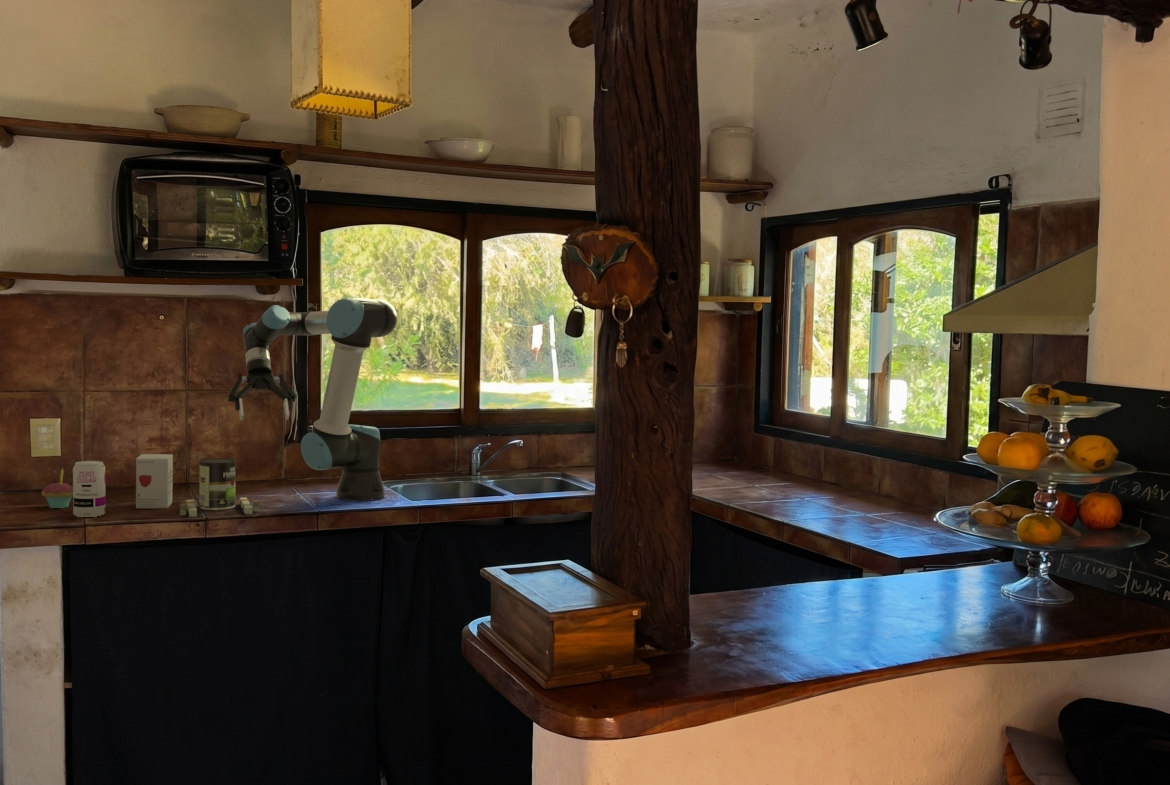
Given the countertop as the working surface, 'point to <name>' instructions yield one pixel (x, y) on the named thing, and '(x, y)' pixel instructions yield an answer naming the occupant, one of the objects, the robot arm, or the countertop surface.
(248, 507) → the slot track
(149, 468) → the supplement box
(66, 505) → the cupcake
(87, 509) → the supplement can
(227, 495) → the coffee can
